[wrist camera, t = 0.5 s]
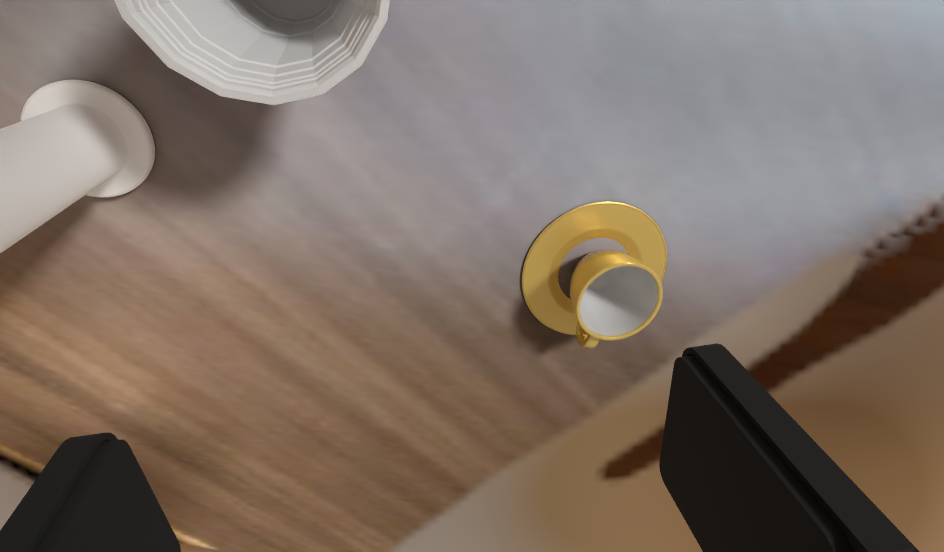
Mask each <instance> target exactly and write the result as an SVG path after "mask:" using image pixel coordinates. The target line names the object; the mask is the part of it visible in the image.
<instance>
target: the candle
mask: <svg viewBox="0 0 944 552" xmlns="http://www.w3.org/2000/svg"><path fill="white" fill-rule="evenodd" d="M154 159H155V145H154V140H153V136H152V133H151V131H150V129H149V126H148V124H147V123H146V121H145V119H144V118H143V117H142V115H141V114H140V113H139V111H138V110H137V109H136V108H135V107H134V106H133V105H132V104H131V103H130V102H129V101H128V100H126V99H125V98H124V97H122V96H121V95H120V94H118V93H116V92H115V91H113V90H111V89H109V88H107V87H105V86H102V85H100V84H97V83H93V82H89V81H84V80H62V81H57V82H54V83H50V84H48V85H45V86H43V87H41V88H40V89H38V90H37V91H36V92H34V93H33V94H32V95H31V96H30V97H29V99H28V100H27V101H26V103H25V105H24V107H23V110H22V114H21V120H20V122H18V123H15V124H12V125H9V126H6V127H4V128H1V129H0V254H1V253H2V252H4V251H5V250H6V249H8V248H9V247H11V246H12V245H14V244H15V243H17V242H18V241H19V240H21V239H22V238H24V237H25V236H27V235H28V234H30V233H31V232H32V231H34V230H35V229H37V228H38V227H40V226H41V225H43V224H44V223H46V222H47V221H48V220H50V219H51V218H53V217H54V216H56V215H57V214H59V213H60V212H61V211H63V210H64V209H66V208H67V207H69V206H70V205H72V204H73V203H74V202H76V201H77V200H79V199H80V198H82V197H83V196H85V195H87V196H92V197H114V196H119V195H122V194H125V193H128V192H130V191H132V190H133V189H135V188H136V187H138V186H139V185H140V184H141V183H142V182H143V181H144V180H145V179H146V178H147V177H148V175H149V173H150V172H151V169H152V167H153V164H154Z"/></svg>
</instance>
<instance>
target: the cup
mask: <svg viewBox="0 0 944 552" xmlns="http://www.w3.org/2000/svg"><path fill="white" fill-rule="evenodd" d="M600 237H602V238H609V239H613V240H615V241H617V242H619V243H620V244H621V245H622V246H623V247H624V248H625V249H626V251H627V253H628V254H626V253H623V252H619V251H614V250H601V251H594V252H591V253H589V254H587V255H585V256H584V257H583V258H582V259H581V260H580V261H579V262H578V263H577V265H576V267H575V269H574V271H573V274H572V277H571V281H570V298H571V299H569V298H568V297H567V296H566V295H565V294H564V293H563V292H562V290H561V288H560V286H559V281H558V272H559V268H560V265H561V263H562V261H563V259H564V257H565V256H566V255H567V253H568V252H569V251H570V250H571V249H572V248H574V247H575V246H576V245H578V244H579V243H581V242H583V241H586V240H588V239H592V238H600ZM666 264H667V248H666V243H665V239H664V236H663V234H662V232H661V230H660V228H659V227H658V225H657V224H656V222H655V221H654V220H653V219H652V218H651V217H650V216H649V215H647V214H646V213H645V212H643V211H642V210H640V209H638V208H636V207H634V206H631V205H628V204H624V203H619V202H596V203H591V204H587V205H583V206H580V207H577V208H575V209H573V210H571V211H569V212H567V213H565V214H563V215H562V216H560V217H559V218H557V219H556V220H554V221H553V222H552V223H551V224H550V225H548V226H547V227H546V228H545V229H544V230H543V231H542V233H541V234H540V235H539V236H538V237H537V239H536V240H535V242H534V243H533V245H532V247H531V248H530V250H529V252H528V255H527V257H526V260H525V263H524V267H523V272H522V290H523V295H524V298H525V301H526V303H527V306H528V307H529V309H530V311H531V312H532V313H533V315H534V316H535V317H536V318H537V319H538V320H539V321H540V322H541V323H543V324H544V325H546V326H547V327H549V328H551V329H553V330H555V331H558V332H561V333H564V334H569V335H576V338H577V342H578V344H579V345H580V346H581V347H583V348H588V349H592V348H594V347H595V346H596V345H597V344H598V342H599V340H600V339H602V340H619V339H623V338H626V337H629V336H631V335H634V334H635V333H637V332H639V331H640V330H642V329H643V328H644V327H646V326H647V325H648V324H649V323H650V322H651V321H652V319H653V318H654V317H655V315H656V314H657V312H658V310H659V308H660V305H661V302H662V297H663V289H662V284H661V282H662V280H663V277H664V274H665V270H666Z"/></svg>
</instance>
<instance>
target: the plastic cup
mask: <svg viewBox="0 0 944 552" xmlns="http://www.w3.org/2000/svg"><path fill="white" fill-rule="evenodd" d="M114 1H115V3H116V5H117V8H118V10H119V12H120V14H121V16H122V18H123V19H124V20H125V21H126V22H127V24H128V25H129V26H130V27H131V28H132V29H133V30H134V31H135V32H136V33H137V34H138V35H139V36H140V38H141V39H142V40H143V41H144V42H145V43H146V44H147V45H148V46H149V47H150V48H151V49H152V50H153V52H154V53H155V54H156V55H157V56H158V57H159V58H160V59H161V60H162V61H163V62H164V63H165V64H166V65H167V67H169V68H171V69H173V70H174V71H176V72H178V73H180V74H182V75H183V76H185V77H187V78H189V79H191V80H192V81H194V82H196V83H198V84H200V85H201V86H203V87H205V88H207V89H208V90H210V91H212V92H214V93H216V94H217V95H219V96H222V97H228V98H234V99H240V100H246V101H252V102H258V103H264V104H270V105H277V104H282V103H286V102H291V101H295V100H300V99H304V98H309V97H313V96H318V95H322V94H324V93H325V92H327V91H328V90H329V89H331V88H332V87H333V86H335V85H336V84H337V83H339V82H340V81H341V80H343V79H344V78H345V77H347V76H348V75H349V74H351V73H352V72H354V71H355V70H356V69H358V68H359V67H360V66H362V64H363V62H364V60H365V59H366V57H367V55H368V53H369V52H370V50H371V48H372V46H373V45H374V43H375V41H376V39H377V37H378V36H379V34H380V32H381V30H382V29H383V27H384V25H385V23H386V22H387V17H388V9H389V2H390V0H114Z"/></svg>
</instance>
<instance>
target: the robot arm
mask: <svg viewBox="0 0 944 552" xmlns="http://www.w3.org/2000/svg"><path fill="white" fill-rule="evenodd" d="M659 466H660V472H661V476H662V479H663V481H664V484H665V486H666V487H667V489H668V491H669V493H670V494H671V496H672V498H673V500H674V501H675V503H676V505H677V507H678V508H679V510H680V512H681V514H682V515H683V517H684V519H685V520H686V522H687V524H688V526H689V527H690V529H691V531H692V533H693V535H694V537H695V538H696V540H697V542H698V543H699V545H700V547H701V549H702V551H703V552H919V551H918V550H917V549H916V548H915V546H913V544H912V543H911V542H909V540H908V539H907V538H906V537H905V536H904V535H903V534H902V533H901V532H900V531H899V530H898V529H897V528H896V527H895V525H894V524H893V523H892V522H891V521H890V520H889V519H888V518H887V517H886V516H885V515H884V514H883V513H882V512H881V511H880V510H879V509H878V508H877V507H876V506H875V504H874V503H873V502H872V501H871V500H870V499H869V498H868V497H867V496H866V495H865V494H864V493H863V492H862V491H861V490H860V489H859V488H858V487H857V485H856V484H854V482H853V481H852V480H851V479H850V478H849V477H848V476H847V475H846V474H845V473H844V472H843V471H842V470H841V469H840V468H839V467H838V466H837V465H836V463H835V462H834V461H833V460H832V459H831V458H830V457H829V456H828V455H827V454H826V453H825V452H824V451H823V450H822V449H821V448H820V447H819V446H818V445H817V444H816V442H814V440H813V439H812V438H811V437H810V436H809V435H808V434H807V433H806V432H805V431H804V430H803V429H802V428H801V427H800V426H799V425H798V424H797V422H796V421H794V420H793V418H792V417H791V416H790V415H789V414H788V413H787V412H786V411H785V410H784V409H783V408H782V407H781V406H780V405H779V404H778V403H777V402H776V401H775V400H774V398H773V397H772V396H771V395H770V394H769V393H768V392H767V391H766V390H765V389H764V388H763V387H762V386H761V385H760V384H759V383H758V382H757V381H756V380H755V378H754V377H753V376H752V375H751V374H750V373H749V372H748V371H747V370H746V369H745V368H744V367H743V366H742V365H741V364H740V363H739V362H738V361H737V360H736V359H735V357H733V355H732V354H731V353H730V352H729V351H728V350H727V349H726V348H725V347H724V346H722V345H721V344H711V345H704V346H697V347H690V348H687V349H685V350H684V352H683V355H682V357H679V358H677V359H676V360H675V363H674V368H673V375H672V382H671V388H670V395H669V402H668V409H667V415H666V422H665V429H664V435H663V442H662V449H661V456H660V465H659ZM0 552H181V549H180V544H179V542H178V540H177V538H176V536H175V534H174V532H173V530H172V528H171V526H170V524H169V522H168V520H167V518H166V516H165V514H164V512H163V510H162V509H161V507H160V505H159V503H158V501H157V499H156V497H155V495H154V493H153V491H152V489H151V487H150V485H149V483H148V481H147V479H146V477H145V475H144V473H143V472H142V470H141V468H140V466H139V464H138V462H137V460H136V458H135V456H134V454H133V452H132V450H131V448H130V446H129V445H128V443H127V442H126V441H124V440H118V439H117V438H116V436H115V435H113V434H112V433H100V434H93V435H86V436H80V437H73V438H69V439H67V440H65V441H64V442H63V443H62V444H61V445H60V447H59V448H58V449H57V451H56V452H55V454H54V455H53V456H52V458H51V459H50V461H49V462H48V464H47V465H46V466H45V468H44V469H43V471H42V472H41V474H40V475H39V476H38V478H37V479H36V481H35V482H34V484H33V485H32V486H31V488H30V489H29V491H28V492H27V494H26V495H25V496H24V498H23V499H22V501H21V502H20V504H19V505H18V506H17V508H16V509H15V511H14V512H13V514H12V515H11V516H10V518H9V519H8V521H7V522H6V523H5V525H4V526H3V528H2V529H1V531H0Z"/></svg>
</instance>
